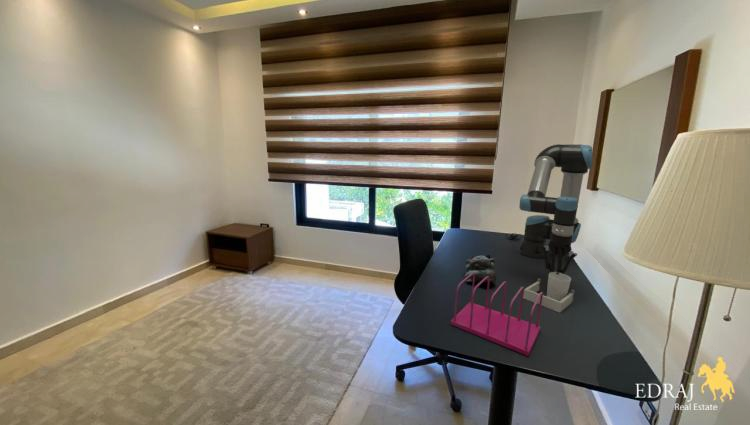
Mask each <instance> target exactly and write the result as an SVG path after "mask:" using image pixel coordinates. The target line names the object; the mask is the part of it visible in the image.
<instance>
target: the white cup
mask: <svg viewBox="0 0 750 425" xmlns="http://www.w3.org/2000/svg"><path fill="white" fill-rule="evenodd" d="M556 273H558V272H551V273H550V272H549V273H548V278H547V284H546V285H547V287H546V290H547V291H546V297H549V298H552V299H555V300H557V301H561V300H562V299H563V298H565V297H566V296H567V295H568V294H569V289H570V284H571V281H572V277H570V276H569V275H567V274H566V273H564V274H562V273H559V274H556Z"/></svg>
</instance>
